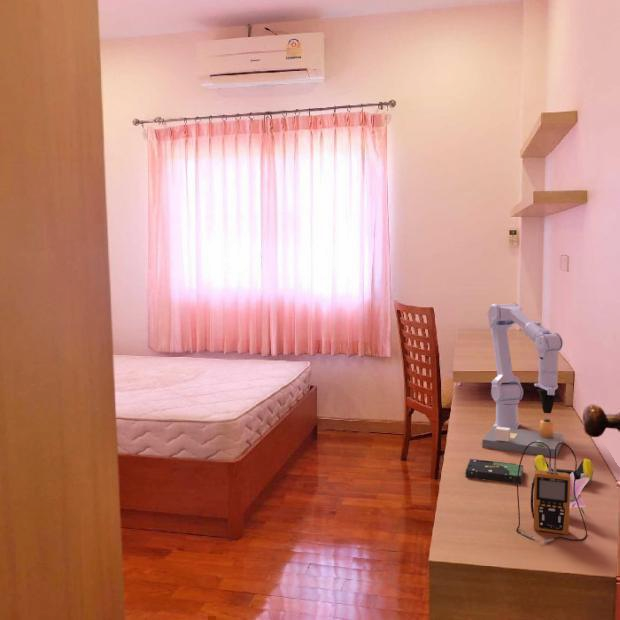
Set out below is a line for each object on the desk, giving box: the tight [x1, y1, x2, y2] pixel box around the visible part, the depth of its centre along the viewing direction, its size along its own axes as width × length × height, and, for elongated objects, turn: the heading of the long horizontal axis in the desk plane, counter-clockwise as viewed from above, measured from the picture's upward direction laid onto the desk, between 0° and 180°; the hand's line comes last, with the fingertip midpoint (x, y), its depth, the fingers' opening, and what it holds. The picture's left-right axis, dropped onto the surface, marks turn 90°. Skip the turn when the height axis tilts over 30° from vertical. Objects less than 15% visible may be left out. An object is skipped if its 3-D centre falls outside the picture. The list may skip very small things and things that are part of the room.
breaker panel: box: [481, 426, 564, 458], centre depth 198 cm, size 18×22×4 cm
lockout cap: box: [539, 418, 554, 438], centre depth 198 cm, size 4×4×6 cm
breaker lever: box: [495, 427, 510, 442], centre depth 193 cm, size 3×4×4 cm
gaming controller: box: [533, 455, 594, 486], centre depth 166 cm, size 15×6×10 cm
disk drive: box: [465, 458, 524, 485], centre depth 171 cm, size 10×3×15 cm
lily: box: [569, 472, 589, 515], centre depth 143 cm, size 12×12×10 cm
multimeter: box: [515, 442, 588, 545], centre depth 131 cm, size 15×10×20 cm
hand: (547, 412), depth 197 cm, fingers closed
